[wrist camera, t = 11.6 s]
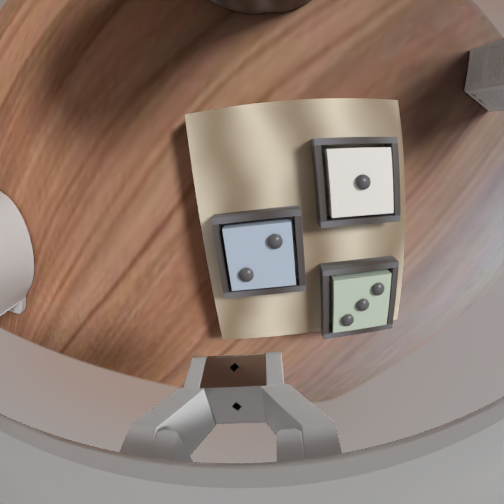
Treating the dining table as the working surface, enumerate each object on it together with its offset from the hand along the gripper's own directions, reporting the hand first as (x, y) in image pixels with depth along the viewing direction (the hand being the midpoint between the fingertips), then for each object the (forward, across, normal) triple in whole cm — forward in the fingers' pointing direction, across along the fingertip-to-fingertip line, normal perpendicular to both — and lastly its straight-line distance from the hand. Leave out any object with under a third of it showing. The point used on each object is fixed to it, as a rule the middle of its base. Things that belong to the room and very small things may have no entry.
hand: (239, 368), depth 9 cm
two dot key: (+15, -1, +1) cm, 15 cm away
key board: (+17, -5, -1) cm, 17 cm away
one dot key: (+15, -9, -4) cm, 17 cm away
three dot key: (+15, -9, +6) cm, 18 cm away
